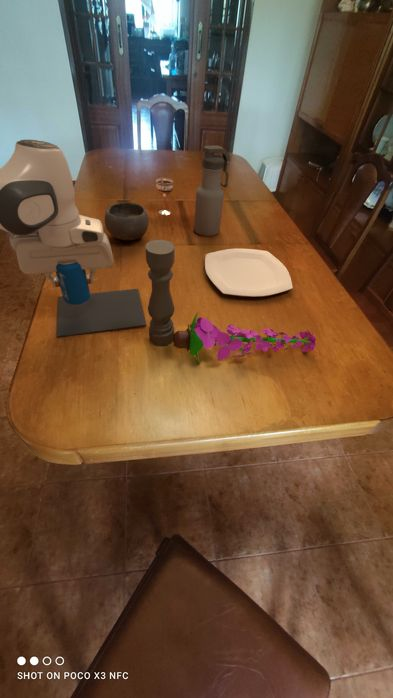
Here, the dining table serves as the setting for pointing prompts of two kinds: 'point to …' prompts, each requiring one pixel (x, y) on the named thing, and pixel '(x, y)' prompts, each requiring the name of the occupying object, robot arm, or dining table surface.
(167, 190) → the wineglass
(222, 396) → the dining table surface
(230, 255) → the plate
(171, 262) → the candle holder
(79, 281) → the beverage can
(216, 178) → the water bottle
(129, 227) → the bowl
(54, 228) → the robot arm
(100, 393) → the dining table surface
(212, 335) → the potted plant
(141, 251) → the dining table surface
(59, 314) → the mat
